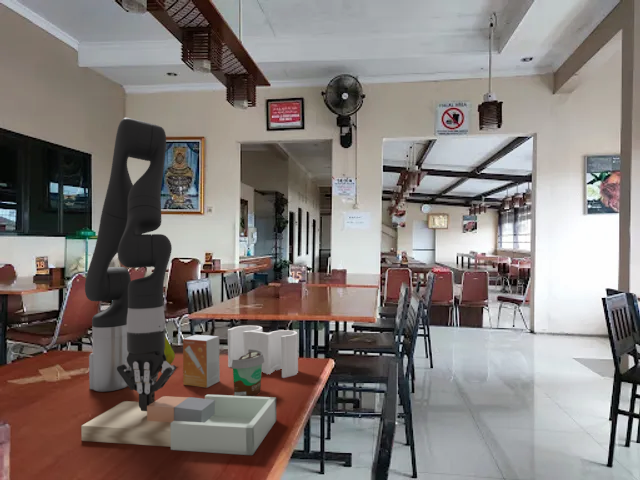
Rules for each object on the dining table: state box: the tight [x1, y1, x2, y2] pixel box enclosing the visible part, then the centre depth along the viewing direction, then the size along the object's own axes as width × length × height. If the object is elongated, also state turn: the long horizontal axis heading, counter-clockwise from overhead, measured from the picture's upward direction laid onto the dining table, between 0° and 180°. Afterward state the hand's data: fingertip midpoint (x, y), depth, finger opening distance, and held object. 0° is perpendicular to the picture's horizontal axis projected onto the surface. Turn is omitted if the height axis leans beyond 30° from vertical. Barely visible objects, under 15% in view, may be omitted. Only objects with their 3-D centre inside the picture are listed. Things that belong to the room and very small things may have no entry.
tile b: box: [174, 396, 215, 423], centre depth 91 cm, size 6×6×3 cm
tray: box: [170, 394, 277, 456], centre depth 90 cm, size 16×16×5 cm
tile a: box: [147, 395, 189, 422], centre depth 93 cm, size 6×6×3 cm
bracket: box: [227, 325, 299, 379], centre depth 138 cm, size 25×10×12 cm, turn 54°
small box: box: [182, 334, 221, 389], centre depth 124 cm, size 8×6×13 cm
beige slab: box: [80, 400, 172, 448], centre depth 94 cm, size 20×14×3 cm
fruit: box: [164, 336, 176, 365], centre depth 143 cm, size 6×6×12 cm
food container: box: [231, 349, 264, 397], centre depth 116 cm, size 12×6×10 cm, turn 168°
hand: (146, 409), depth 93 cm, fingers closed
